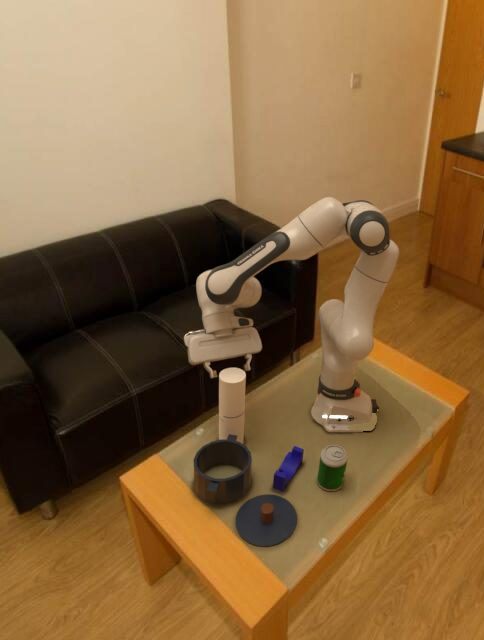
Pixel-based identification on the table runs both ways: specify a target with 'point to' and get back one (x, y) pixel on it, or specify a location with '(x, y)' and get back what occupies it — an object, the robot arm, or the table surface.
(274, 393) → the table surface
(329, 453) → the soda can
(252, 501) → the pot lid
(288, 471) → the cable clip
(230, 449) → the pot
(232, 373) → the cylindrical container
